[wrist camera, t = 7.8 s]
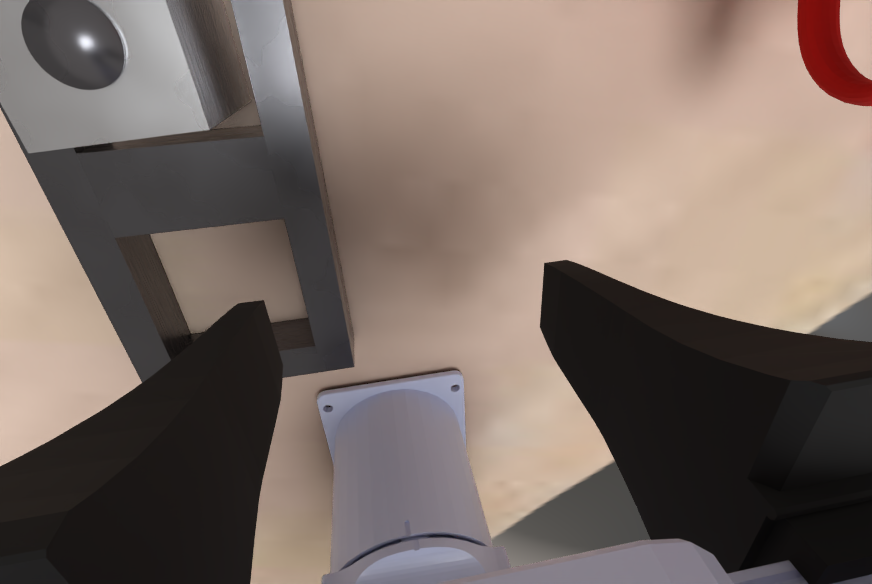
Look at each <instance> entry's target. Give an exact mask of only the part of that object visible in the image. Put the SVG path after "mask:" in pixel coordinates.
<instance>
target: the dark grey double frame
mask: <svg viewBox="0 0 872 584" xmlns="http://www.w3.org/2000/svg"><path fill="white" fill-rule="evenodd" d="M231 4H232V8H233V12H234V16H235V20H236V24H237V28H238V32H239V36H240V40H241V44H242V48H243V53H244V57H245V61H246V65H247V69H248V73H249V77H250V81H251V85H252V89H253V93H254V97H255V101H256V106H257V110H258V114H259V118H260V122H261V125H259V126H248V127H237V128H226V129H215V130H204V131H196V132H188V133H181V134H173V135H165V136H158V137H150V138H143V139H135V140H127V141H120V142H112V143H104V144H97V145H89V146H81V147H74V148H66V149H59V150H51V151H43V152H36V153H28V152H27V150H26V148H25V146H24V144H23V143H22V141H21V139H20V137H19V135H18V134H17V132H16V130H15V128H14V126H13V125H12V123H11V121H10V119H9V117H8V116H7V114H6V112H5V110H4V108H3V107H2V105H1V103H0V108H1V110H2V112H3V114H4V116H5V118H6V120H7V122H8V124H9V126H10V127H11V129H12V131H13V133H14V135H15V137H16V139H17V141H18V143H19V145H20V147H21V149H22V151H23V153H24V155H25V157H26V158H27V160H28V162H29V164H30V166H31V168H32V170H33V172H34V174H35V176H36V178H37V180H38V182H39V184H40V186H41V187H42V189H43V191H44V193H45V195H46V197H47V199H48V201H49V203H50V205H51V207H52V209H53V211H54V213H55V215H56V217H57V218H58V220H59V222H60V224H61V226H62V228H63V230H64V232H65V234H66V236H67V238H68V240H69V242H70V244H71V246H72V247H73V249H74V251H75V253H76V255H77V257H78V259H79V261H80V263H81V265H82V267H83V269H84V271H85V273H86V275H87V277H88V278H89V280H90V282H91V284H92V286H93V288H94V290H95V292H96V294H97V296H98V298H99V300H100V302H101V304H102V306H103V307H104V309H105V311H106V313H107V315H108V317H109V319H110V321H111V323H112V325H113V327H114V329H115V331H116V333H117V335H118V337H119V338H120V340H121V342H122V344H123V346H124V348H125V350H126V352H127V354H128V356H129V358H130V360H131V362H132V364H133V366H134V367H135V369H136V371H137V373H138V375H139V377H140V379H141V381H142V383H143V382H144V381H146V380H147V379H148V378H150V377H151V376H152V375H154V374H155V373H156V372H157V371H159V370H160V369H161V368H162V367H164V366H165V365H166V364H167V363H169V362H170V361H171V360H172V359H174V358H175V357H176V356H177V355H179V354H180V353H181V352H182V351H183V350H185V349H186V348H187V347H188V346H189V345H190V344H192V343H193V342H194V341H195V340H196V339H197V338H198V337H200V336H201V335H202V334H203V333H198V334H190V332H189V329H188V327H187V324H186V322H185V320H184V317H183V315H182V312H181V310H180V308H179V305H178V303H177V300H176V298H175V296H174V293H173V291H172V288H171V286H170V283H169V281H168V279H167V276H166V274H165V271H164V269H163V267H162V264H161V262H160V259H159V257H158V255H157V252H156V250H155V247H154V245H153V242H152V240H151V238H150V235H149V234H154V233H163V232H171V231H180V230H189V229H198V228H207V227H215V226H224V225H233V224H242V223H251V222H259V221H268V220H277V219H284V220H285V224H286V228H287V232H288V236H289V240H290V244H291V248H292V252H293V256H294V261H295V265H296V269H297V273H298V277H299V281H300V285H301V289H302V293H303V297H304V301H305V305H306V309H307V314H308V318H306V319H299V320H292V321H284V322H277V323H271V326H272V330H273V333H274V336H275V340H276V343H277V346H278V350H279V353H280V356H281V360H282V363H283V376H282V378H285V377H291V376H298V375H304V374H311V373H318V372H324V371H331V370H337V369H344V368H350V367H354V334H353V329H352V324H351V318H350V313H349V308H348V302H347V297H346V292H345V286H344V281H343V276H342V270H341V265H340V260H339V255H338V249H337V244H336V239H335V233H334V228H333V223H332V217H331V212H330V207H329V201H328V196H327V191H326V185H325V180H324V175H323V170H322V164H321V159H320V154H319V148H318V143H317V138H316V132H315V127H314V122H313V116H312V111H311V106H310V100H309V95H308V90H307V85H306V79H305V74H304V69H303V63H302V58H301V53H300V47H299V42H298V37H297V31H296V26H295V21H294V15H293V10H292V5H291V0H231Z"/></svg>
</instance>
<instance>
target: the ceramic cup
mask: <svg viewBox="0 0 872 584" xmlns="http://www.w3.org/2000/svg"><path fill="white" fill-rule="evenodd" d="M797 18H798V39H799V46H800V50H801V55H802V58H803V61H804V64H805V66H806V69H807V70H808V72H809V74H810V75H811V77H812V79H813V80H814V81H815V82H816V84H817V85H818V86H819V87H820V88H821V89H822V90H824V91H825V92H826V93H827V94H829V95H830V96H832V97H834V98H836V99H838V100H840V101H843V102H845V103H850V104H854V105H860V106H872V80H870V79H868V78H866V77H864V76H863V75H862V74H860V73H859V72H858V70H857V69H856V68H855V67H854V66H853V65H852V63H851V61H850V60H849V58H848V57H847V54H846V52H845V49H844V47H843V43H842V39H841V34H840V0H798V15H797Z"/></svg>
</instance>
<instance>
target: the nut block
mask: <svg viewBox="0 0 872 584" xmlns="http://www.w3.org/2000/svg"><path fill="white" fill-rule="evenodd" d="M250 101H252V100H251V96H250V93H249V89H248V86H247V83H246V79H245V76H244V72H243V69H242V65H241V62H240V58H239V55H238V51H237V48H236V44H235V41H234V37H233V34H232V30H231V27H230V23H229V20H228V16H227V13H226V9H225V6H224V2H223V0H0V103H1V105H2V107H3V108H4V110H5V112H6V114H7V116H8V117H9V119H10V121H11V123H12V125H13V126H14V128H15V130H16V132H17V134H18V135H19V137H20V139H21V141H22V143H23V144H24V146H25V148H26V150H27V152H28V153H36V152H43V151H51V150H59V149H66V148H74V147H81V146H89V145H97V144H104V143H112V142H120V141H127V140H135V139H143V138H150V137H158V136H165V135H173V134H181V133H188V132H196V131H204V130H210V129H211V128H213V127H214V126H216V125H217V124H219V123H220V122H222V121H223V120H224V119H226V118H227V117H229V116H230V115H232V114H233V113H235V112H236V111H237V110H239V109H240V108H242V107H243V106H245V105H246V104H248V103H249V102H250Z"/></svg>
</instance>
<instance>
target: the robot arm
mask: <svg viewBox="0 0 872 584" xmlns="http://www.w3.org/2000/svg"><path fill="white" fill-rule="evenodd" d="M540 328H541V331H542V333H543V335H544V338H545V340H546V342H547V345H548V347H549V349H550V351H551V353H552V355H553V357H554V359H555V361H556V362H557V364H558V366H559V367H560V369H561V370H562V372H563V373H564V375H565V377H566V378H567V380H568V381H569V383H570V384H571V386H572V388H573V389H574V391H575V392H576V394H577V395H578V397H579V398H580V400H581V402H582V403H583V405H584V406H585V408H586V409H587V411H588V412H589V414H590V416H591V417H592V419H593V420H594V422H595V423H596V425H597V427H598V429H599V430H600V432H601V434H602V436H603V437H604V439H605V441H606V443H607V445H608V447H609V449H610V451H611V453H612V455H613V457H614V459H615V462H616V463H617V466H618V468H619V470H620V472H621V474H622V476H623V478H624V480H625V482H626V484H627V487H628V489H629V491H630V493H631V495H632V498H633V500H634V502H635V504H636V506H637V508H638V511H639V513H640V515H641V518H642V520H643V522H644V525H645V527H646V529H647V532H648V534H649V536H650V539H651V540H641V541H636V542H631V543H627V544H622V545H617V546H612V547H608V548H603V549H598V550H593V551H588V552H584V553H579V554H574V555H569V556H565V557H560V558H555V559H550V560H546V561H541V562H536V563H532V564H526V565H522V566H517V567H512V568H511V566H510V563H509V559H508V556H507V553H506V549H505V547H504V546H496V547H493V544H492V541H491V537H490V534H489V530H488V526H487V523H486V519H485V516H484V512H483V508H482V505H481V501H480V498H479V494H478V491H477V487H476V483H475V480H474V476H473V473H472V469H471V465H470V462H469V458H468V455H467V451H466V431H465V404H464V379H463V376H462V373H461V372H460V371H457V370H453V371H447V372H440V373H434V374H427V375H421V376H415V377H408V378H402V379H396V380H389V381H383V382H376V383H370V384H364V385H357V386H351V387H345V388H338V389H332V390H325V391H322V392H320V393H319V394H318V396H317V405H318V408H319V412H320V416H321V420H322V424H323V427H324V431H325V435H326V439H327V443H328V446H329V450H330V454H331V458H332V461H333V465H334V480H333V507H332V534H331V562H330V574H325V575H323V576H322V584H872V342H865V341H854V340H844V339H836V338H829V337H822V336H816V335H809V334H802V333H796V332H790V331H785V330H779V329H774V328H768V327H764V326H759V325H755V324H750V323H746V322H741V321H736V320H732V319H728V318H724V317H720V316H717V315H713V314H710V313H706V312H703V311H700V310H696V309H693V308H689V307H686V306H683V305H680V304H677V303H674V302H671V301H669V300H666V299H663V298H660V297H658V296H655V295H652V294H650V293H647V292H644V291H642V290H639V289H637V288H635V287H632V286H630V285H627V284H625V283H623V282H620V281H618V280H616V279H613V278H611V277H609V276H606V275H604V274H602V273H599V272H597V271H595V270H592V269H590V268H588V267H585V266H583V265H580V264H577V263H575V262H571V261H568V260H564V261H556V262H549V263H544V277H543V291H542V305H541V320H540ZM282 376H283V363H282V360H281V356H280V353H279V350H278V346H277V343H276V340H275V336H274V333H273V330H272V326H271V323H270V320H269V316H268V313H267V309H266V306H265V303H264V300H262V301H254V302H247V303H239V304H237V305H236V306H234V307H233V308H232V309H230V310H229V311H228V312H227V313H226V314H225V315H223V316H222V317H221V318H220V319H219V320H218V321H217V322H215V323H214V324H213V325H212V326H211V327H210V328H209V329H208V330H206V331H205V332H204V333H203V334H202V335H201V336H200V337H198V338H197V339H196V340H195V341H194V342H193V343H192V344H190V345H189V346H188V347H187V348H186V349H185V350H183V351H182V352H181V353H180V354H179V355H177V356H176V357H175V358H174V359H172V360H171V361H170V362H169V363H167V364H166V365H165V366H164V367H162V368H161V369H160V370H159V371H157V372H156V373H155V374H154V375H152V376H151V377H150V378H148V379H147V380H146V381H144V382H143V383H142V384H140V385H139V386H137V387H136V388H135V389H133V390H132V391H130V392H129V393H127V394H126V395H124V396H123V397H121V398H120V399H118V400H117V401H115V402H114V403H112V404H111V405H109V406H108V407H106V408H105V409H103V410H102V411H100V412H98V413H97V414H95V415H93V416H92V417H90V418H88V419H86V420H85V421H83V422H81V423H80V424H78V425H76V426H74V427H73V428H71V429H69V430H68V431H66V432H64V433H63V434H61V435H59V436H57V437H56V438H54V439H52V440H50V441H49V442H47V443H45V444H43V445H41V446H39V447H37V448H35V449H34V450H32V451H30V452H28V453H26V454H24V455H22V456H20V457H18V458H16V459H14V460H12V461H10V462H8V463H6V464H4V465H2V466H0V584H250V580H251V569H252V559H253V548H254V538H255V529H256V521H257V512H258V503H259V496H260V491H261V485H262V480H263V475H264V471H265V467H266V462H267V458H268V454H269V449H270V445H271V441H272V436H273V432H274V428H275V423H276V419H277V414H278V410H279V405H280V400H281V390H282ZM453 385H457V386H456V387H452V386H453ZM326 405H330V406H331V407H325V406H326Z"/></svg>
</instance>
